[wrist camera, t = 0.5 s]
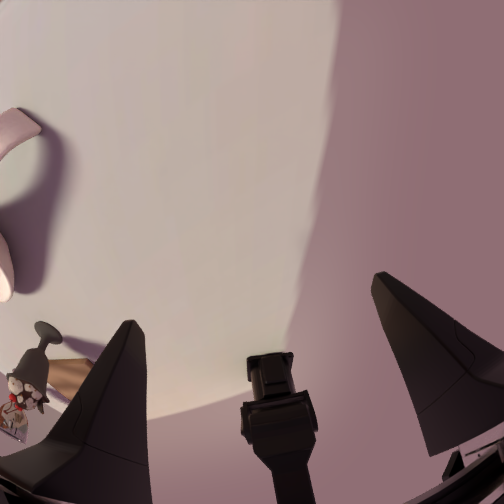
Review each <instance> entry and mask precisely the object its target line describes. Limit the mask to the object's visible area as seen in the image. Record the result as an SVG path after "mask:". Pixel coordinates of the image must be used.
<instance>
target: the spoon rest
mask: <svg viewBox="0 0 504 504" xmlns="http://www.w3.org/2000/svg"><path fill="white" fill-rule="evenodd" d="M40 132H41V127H40V126H39V125H38V124H37V123H35V122H34V121H33V120H31V119H30V118H29V117H28V116H26V115H25V114H24V113H22V112H21V111H20V110H18V109H16V108H11V109H9V110H7V111H5V112H3V113H2V114H0V161H1V160H2V159H3V158H4V156H5V155H6V154H7V153H8V152H10V151H11V150H12V149H13V148H15V147H16V146H18V145H19V144H21V143H23V142H25V141H26V140H28V139H30V138H32V137H34V136H36V135H38V134H39V133H40ZM13 292H14V270H13V265H12V260H11V257H10V252H9V248H8V245H7V243H6V241H5V239H4V237H3V236H2V234H1V233H0V302H7V301H9V300H10V299H11V298H12V296H13Z"/></svg>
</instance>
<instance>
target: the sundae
mask: <svg viewBox="0 0 504 504" xmlns="http://www.w3.org/2000/svg"><path fill="white" fill-rule="evenodd" d="M34 326H35V330H36V332H37V334H38V335H39V336H40V337H41V340H40V343H39V346H38V348H32V349H29V350H27V351H26V352H25V354H24V355H23V357H22V358H21V360H20V362H19V364H18V366H17V367H16V369H15V370H14V372H13V373H7V375H6V377H7V380H8V383H9V389H10V392H11V394H10V395H9V398H10V400H11V406H10V408H11V407H12V402H16V404H15V407H16V409H15V410H12V411H10V412H13V411H16V410H18V411H22V410H23V409H25V410H32V409H35V407H36V406H37V407H38V410H39V411H40V412H41V413H42V414H44V411H43V403H45V402H46V403H49V402H50V401H49V399H48V398H47V396H46V386H47V379H48V374H49V362H48V359H47V357H46V355H45V350H46V347H47V345H48V344H49V343H51V344H60V343H61V342H62V337H61V335H60V334H59V332H58V331H57V330H56V329H55V328H54V327H52V326H51V325H49V324H47V323H45V322H36V323H35V325H34ZM10 408H9V409H10ZM9 409H7V410H3V412H4V413H5V414H6V415H8V413H10V412H6V411H8V410H9Z"/></svg>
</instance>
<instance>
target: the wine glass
mask: <svg viewBox="0 0 504 504" xmlns="http://www.w3.org/2000/svg"><path fill="white" fill-rule="evenodd" d="M14 370H15V369H13V370H12V371H13V372H14ZM15 404H16V402H12V407H11V408H10V406H11V401H10V402H8V403H6V404H3V405H2V406H1V407H0V431H2V432H3V433H5V434H6V435H8V436H10V437H11V438H13V439H15V440H17V441H19V442H21V443H24V444H26V442H27V437H28V420H27V417H26V415H25V412H24V410H22V411H18V410H16V411H13V412H10V411H12V410H15V409H16V407H15ZM9 408H10V409H9ZM7 409H9V410H8V411H6V412H10V413H8V415H6V414H5V413H4V412H3V410H7Z"/></svg>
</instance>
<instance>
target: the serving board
mask: <svg viewBox="0 0 504 504" xmlns="http://www.w3.org/2000/svg"><path fill="white" fill-rule="evenodd" d="M48 362H49V374H48V379H47V382H48V383H49V384H50V385H51V386H52V387H54V388H55V389H56V390H57V391H58V392H60V393H61V394H62V395H63V396H65V397H66V398H67V399H68V400H70V401H71V400H72V399H73V397H74V396H75V394H76V392H77V391H78V389H79V388H80V386H81V384H82V383H83V381H84V380H85V378H86V376H87V375H88V373H89V372H90V370H91V369H92V367H93V366H94V365H93V364H92V363H91V362H90V361H89V360H88V359H64V360H48Z"/></svg>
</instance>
